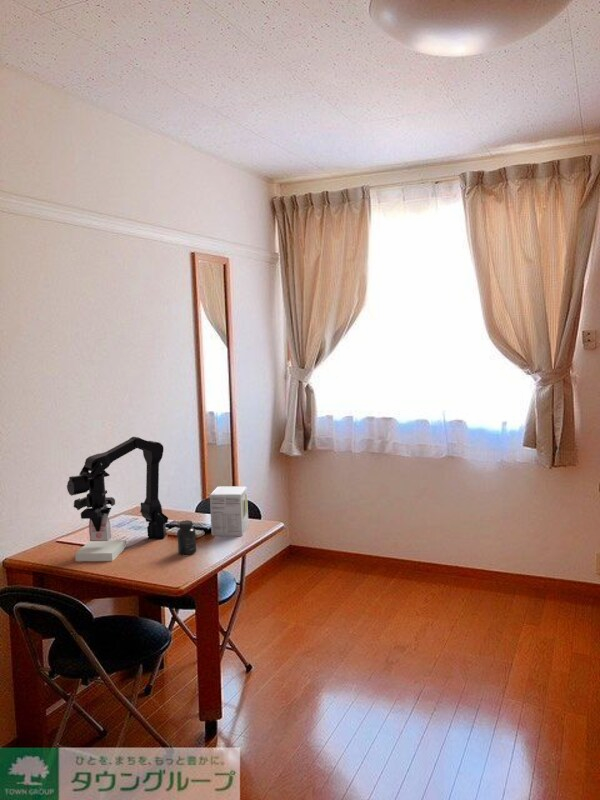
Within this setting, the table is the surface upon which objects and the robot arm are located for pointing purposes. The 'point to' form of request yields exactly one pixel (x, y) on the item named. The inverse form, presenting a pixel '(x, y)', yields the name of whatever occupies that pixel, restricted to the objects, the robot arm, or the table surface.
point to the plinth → (100, 550)
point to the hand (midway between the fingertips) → (100, 529)
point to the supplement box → (229, 511)
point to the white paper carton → (104, 530)
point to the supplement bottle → (186, 538)
